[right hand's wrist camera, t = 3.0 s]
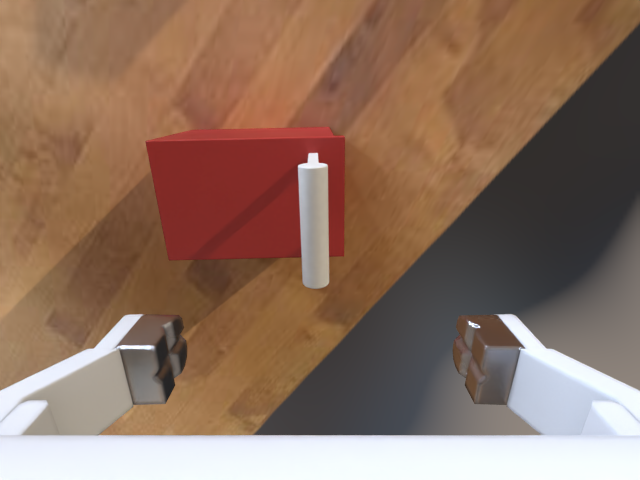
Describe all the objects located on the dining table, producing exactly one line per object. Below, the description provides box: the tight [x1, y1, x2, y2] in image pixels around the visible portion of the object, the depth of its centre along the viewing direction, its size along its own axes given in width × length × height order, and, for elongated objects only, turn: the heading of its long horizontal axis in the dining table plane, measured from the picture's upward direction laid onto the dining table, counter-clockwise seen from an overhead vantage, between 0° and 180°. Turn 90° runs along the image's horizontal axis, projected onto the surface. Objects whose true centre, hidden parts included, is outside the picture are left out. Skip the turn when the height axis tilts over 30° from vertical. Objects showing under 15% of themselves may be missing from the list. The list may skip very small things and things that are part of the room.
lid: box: [146, 136, 345, 289], centre depth 24 cm, size 14×10×8 cm, turn 91°
